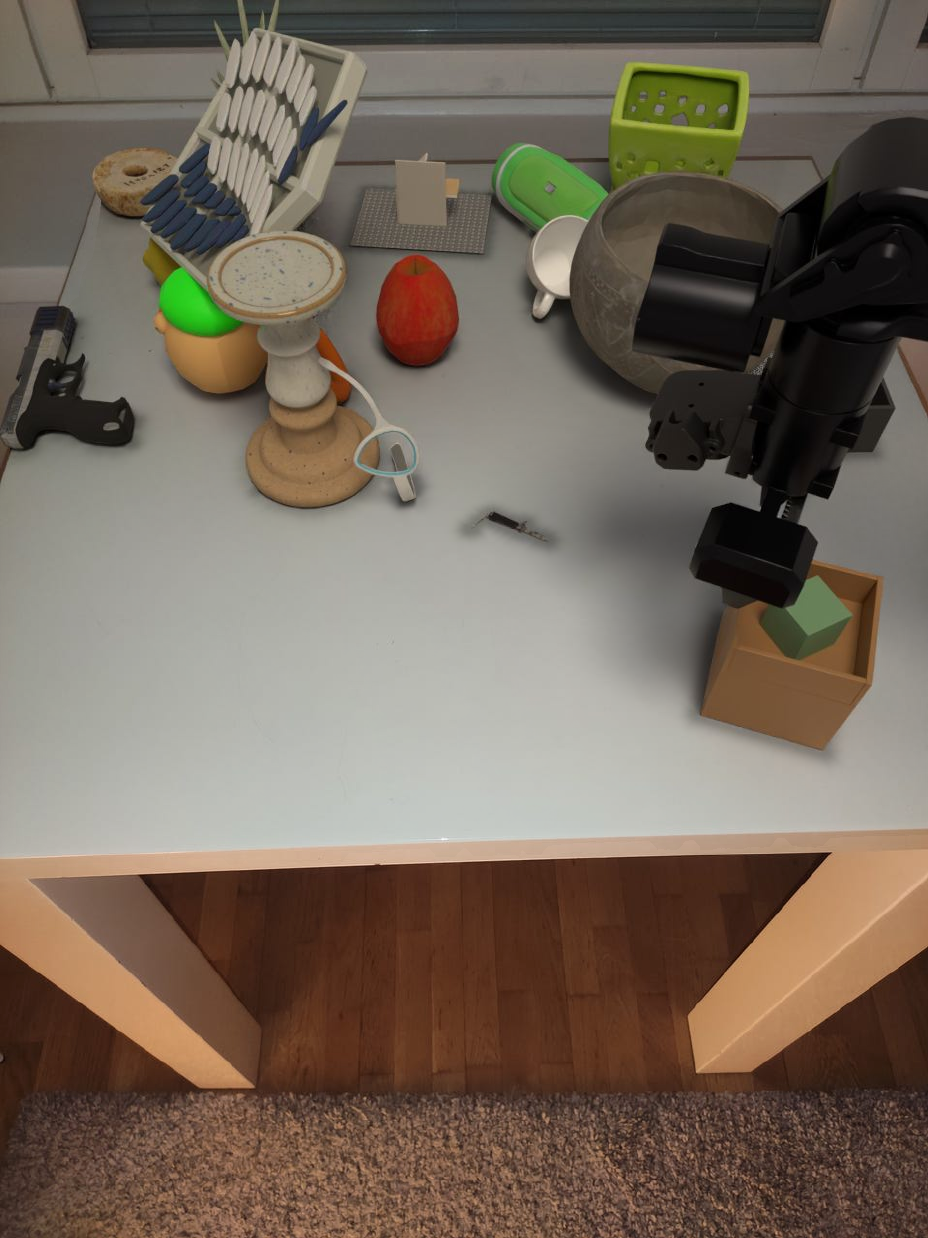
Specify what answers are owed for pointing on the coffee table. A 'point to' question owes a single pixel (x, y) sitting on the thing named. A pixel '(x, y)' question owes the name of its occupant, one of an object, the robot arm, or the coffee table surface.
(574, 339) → the coffee table surface
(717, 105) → the flower pot
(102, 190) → the stone disc
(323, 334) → the orange flat curved piece
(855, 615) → the box
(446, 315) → the apple
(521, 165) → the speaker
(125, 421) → the handgun
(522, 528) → the knife
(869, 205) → the robot arm
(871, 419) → the black open box
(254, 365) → the figurine
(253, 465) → the candle holder
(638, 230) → the bowl
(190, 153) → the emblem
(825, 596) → the block
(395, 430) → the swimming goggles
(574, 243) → the cup
